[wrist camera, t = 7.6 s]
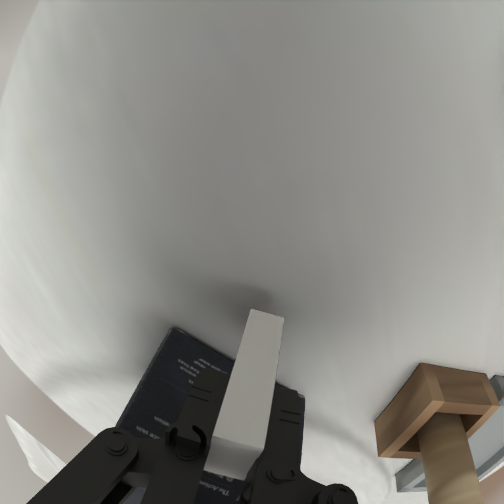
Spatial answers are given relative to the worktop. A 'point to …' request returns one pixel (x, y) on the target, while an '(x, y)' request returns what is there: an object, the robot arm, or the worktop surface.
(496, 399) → the socket
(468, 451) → the dowel
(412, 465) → the tray
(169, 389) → the box
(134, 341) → the worktop surface
